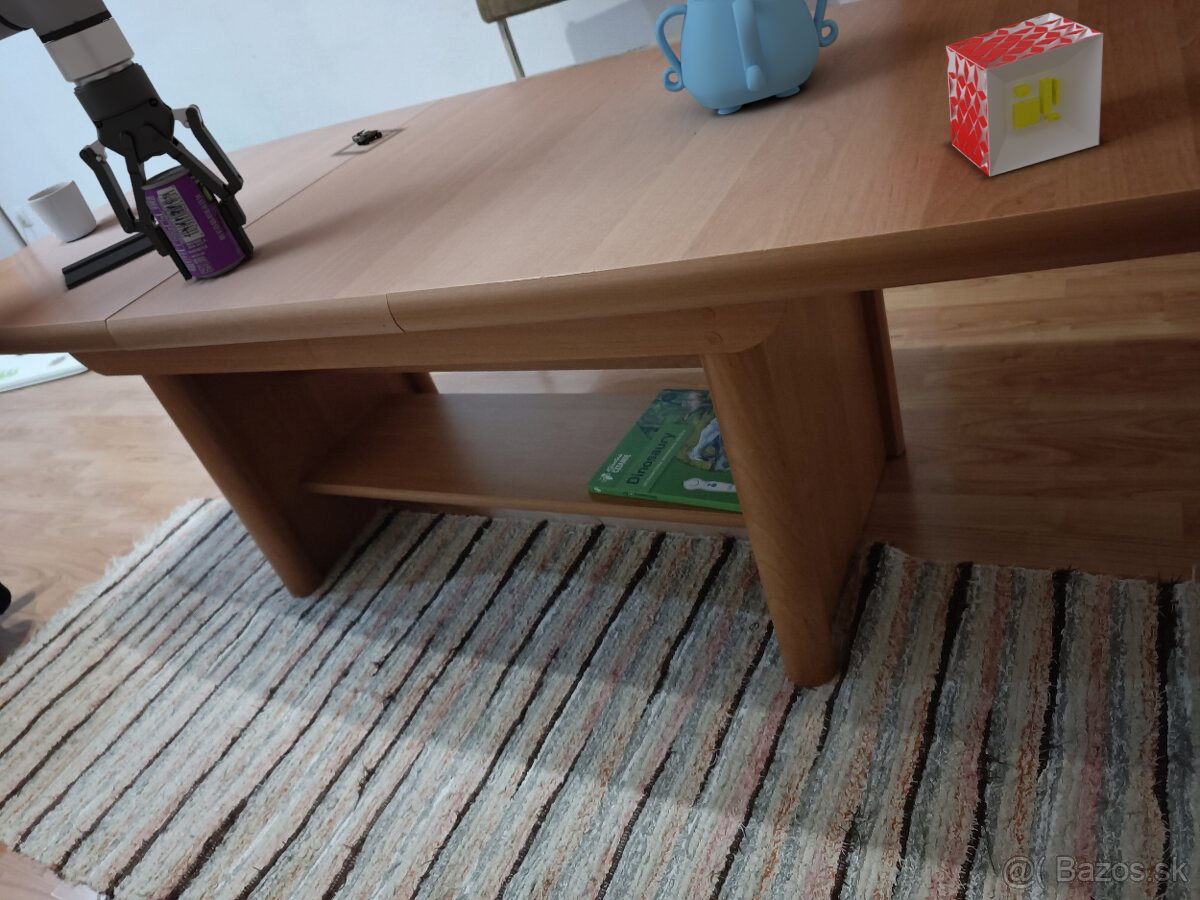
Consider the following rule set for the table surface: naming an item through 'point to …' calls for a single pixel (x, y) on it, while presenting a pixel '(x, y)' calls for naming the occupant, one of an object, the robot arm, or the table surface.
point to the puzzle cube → (1025, 92)
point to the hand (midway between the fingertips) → (220, 263)
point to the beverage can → (193, 222)
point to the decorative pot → (743, 49)
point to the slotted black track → (107, 259)
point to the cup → (63, 211)
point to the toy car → (366, 137)
